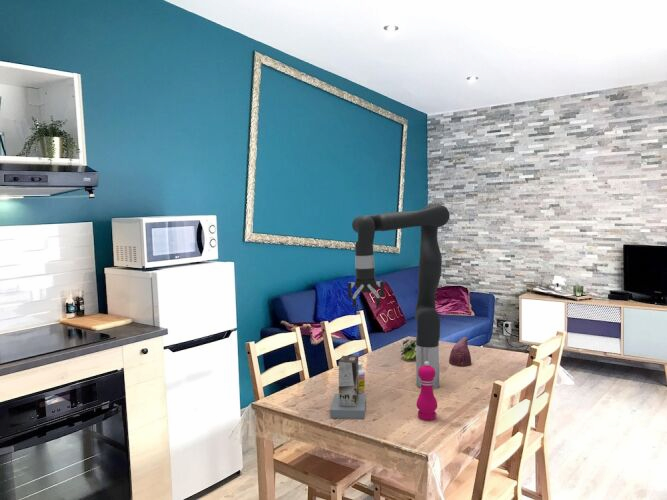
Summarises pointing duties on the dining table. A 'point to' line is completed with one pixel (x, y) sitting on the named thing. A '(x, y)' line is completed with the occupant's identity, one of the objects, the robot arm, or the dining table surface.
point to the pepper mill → (426, 393)
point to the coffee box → (348, 381)
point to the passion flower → (408, 349)
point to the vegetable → (460, 354)
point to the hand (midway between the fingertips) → (366, 307)
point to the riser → (348, 408)
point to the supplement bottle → (361, 379)
